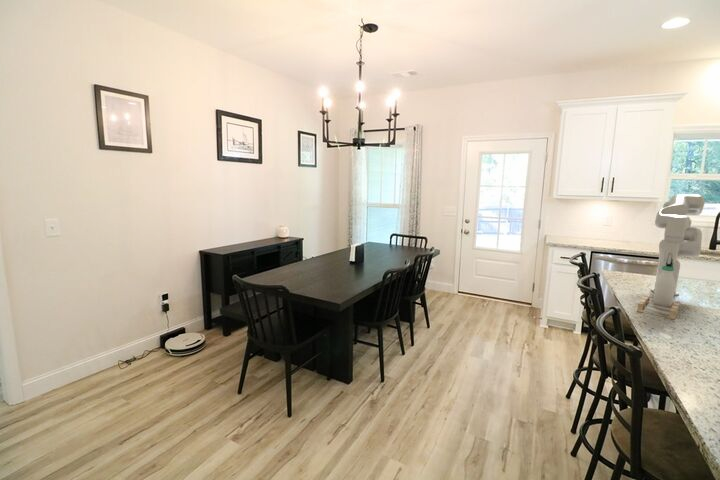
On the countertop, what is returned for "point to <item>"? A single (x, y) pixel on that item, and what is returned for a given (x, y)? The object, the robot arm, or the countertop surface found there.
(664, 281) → the milk bottle
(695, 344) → the countertop surface
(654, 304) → the cradle
